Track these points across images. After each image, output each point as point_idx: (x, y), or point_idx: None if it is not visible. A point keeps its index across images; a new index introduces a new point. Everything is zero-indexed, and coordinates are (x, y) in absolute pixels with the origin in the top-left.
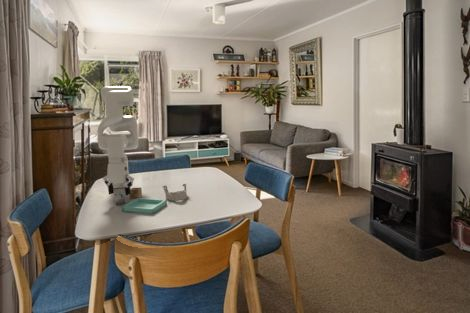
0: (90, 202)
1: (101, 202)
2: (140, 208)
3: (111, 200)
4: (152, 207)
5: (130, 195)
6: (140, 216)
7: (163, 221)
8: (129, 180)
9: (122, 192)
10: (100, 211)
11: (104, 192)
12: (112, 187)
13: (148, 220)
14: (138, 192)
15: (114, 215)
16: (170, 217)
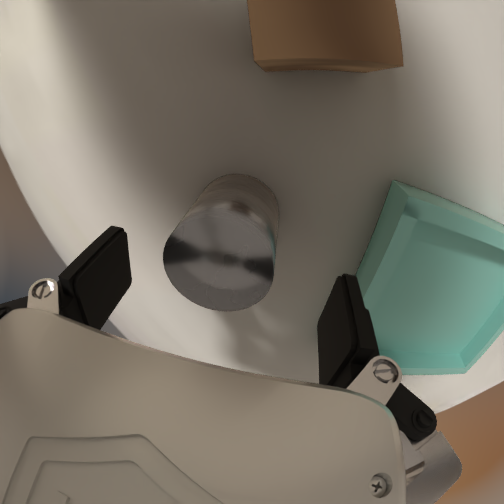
0: (35, 200)
1: (81, 191)
2: (423, 373)
3: (113, 134)
4: (476, 307)
5: (273, 66)
6: (413, 376)
7: (470, 386)
8: (392, 424)
9: (233, 236)
10: (193, 338)
11: (9, 11)
12: (90, 282)
13: (434, 391)
14: (388, 68)
15: (298, 377)
16: (496, 363)
